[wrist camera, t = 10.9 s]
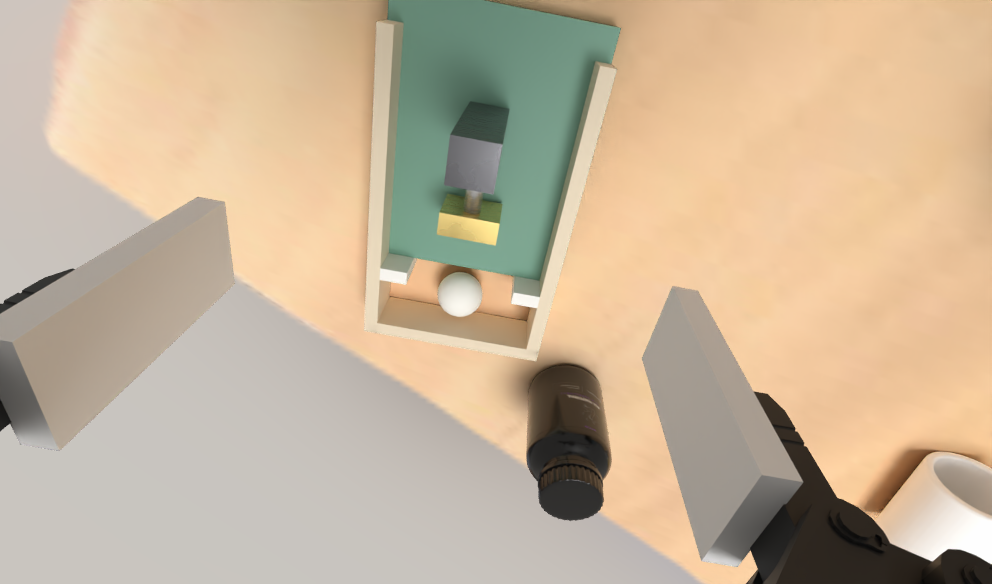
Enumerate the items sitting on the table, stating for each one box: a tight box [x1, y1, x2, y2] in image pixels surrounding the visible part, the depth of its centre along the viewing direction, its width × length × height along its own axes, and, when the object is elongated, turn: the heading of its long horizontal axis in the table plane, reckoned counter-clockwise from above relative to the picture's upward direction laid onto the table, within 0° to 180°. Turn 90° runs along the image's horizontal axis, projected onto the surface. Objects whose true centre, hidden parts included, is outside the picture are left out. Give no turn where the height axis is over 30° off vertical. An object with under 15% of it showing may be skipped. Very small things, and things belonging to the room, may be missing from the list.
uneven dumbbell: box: [437, 101, 510, 246], centre depth 30 cm, size 8×4×9 cm, turn 170°
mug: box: [875, 452, 992, 564], centre depth 46 cm, size 12×10×8 cm
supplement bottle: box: [526, 365, 612, 521], centre depth 41 cm, size 7×7×12 cm
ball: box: [438, 272, 482, 317], centre depth 39 cm, size 4×4×4 cm
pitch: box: [364, 0, 621, 361], centre depth 35 cm, size 24×14×4 cm, turn 170°
